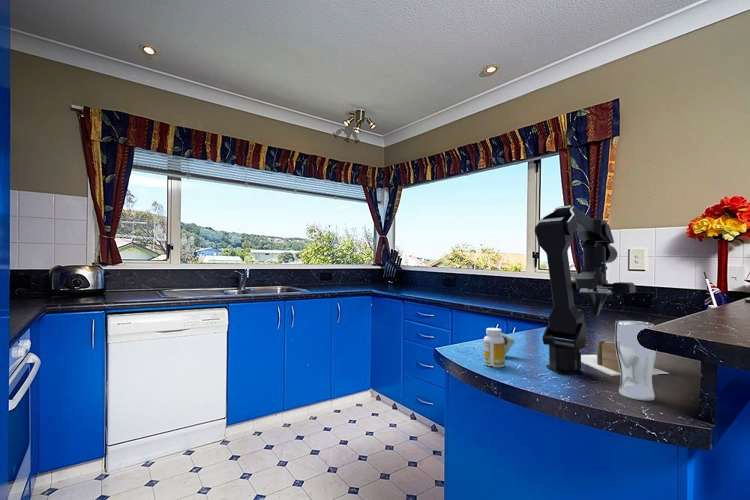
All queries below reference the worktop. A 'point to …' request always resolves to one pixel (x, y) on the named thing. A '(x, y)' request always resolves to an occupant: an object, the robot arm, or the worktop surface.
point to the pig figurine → (507, 342)
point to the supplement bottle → (494, 348)
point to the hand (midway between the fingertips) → (595, 315)
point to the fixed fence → (607, 356)
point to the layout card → (592, 361)
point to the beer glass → (634, 361)
